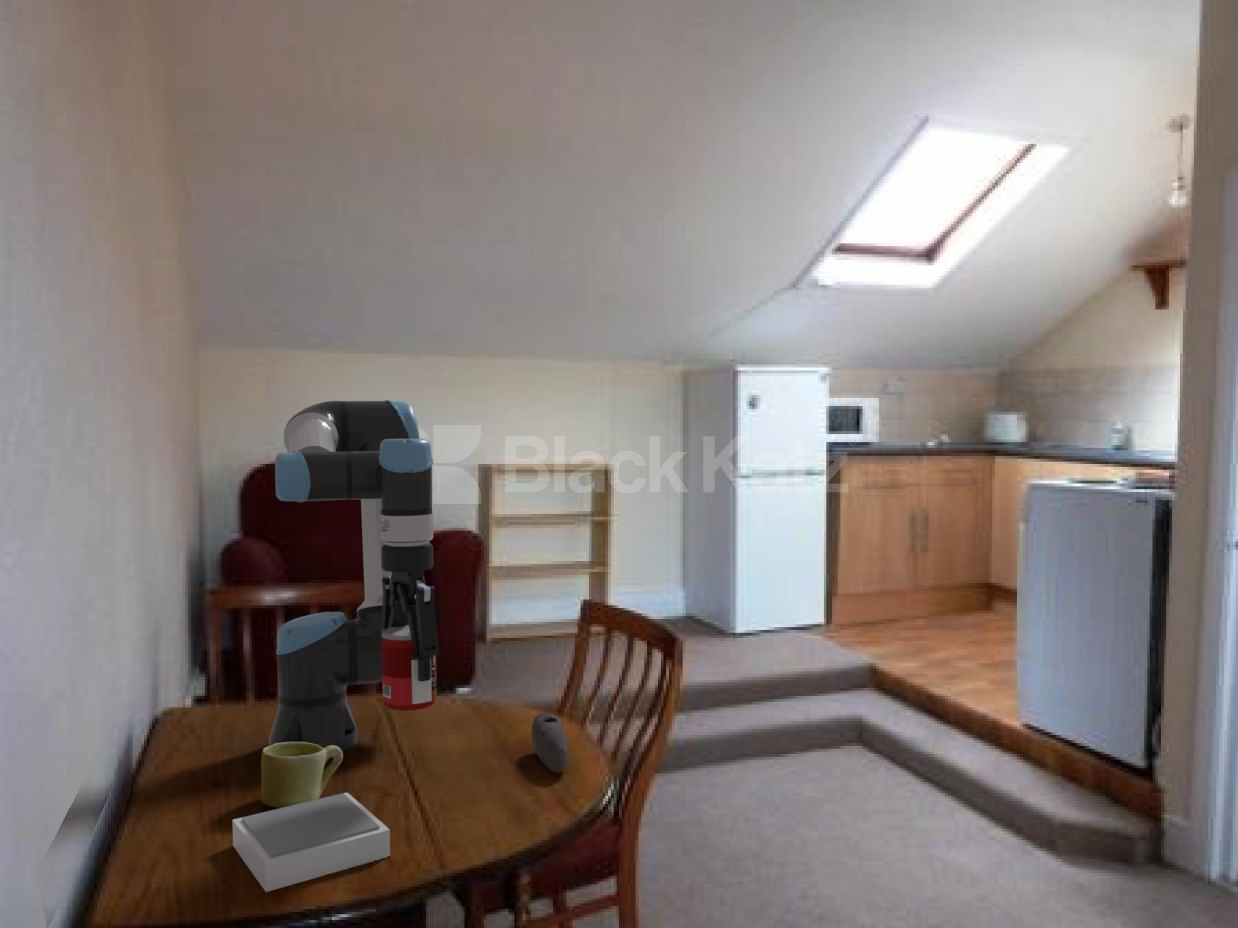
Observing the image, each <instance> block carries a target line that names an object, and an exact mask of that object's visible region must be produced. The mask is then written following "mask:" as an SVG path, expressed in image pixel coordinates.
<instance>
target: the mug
mask: <svg viewBox="0 0 1238 928" xmlns="http://www.w3.org/2000/svg"><path fill="white" fill-rule="evenodd" d="M330 758H332V762H330V763H329V764H328V766H326V768H325V765H326V763H327V762H328V760H329V759H330ZM343 758H344V752H342V751H341V749H340V748H339V747H338V746H335V745H330V746H327V747H325V748H322V747H320V746H319V745H317V744H313V743H308V742H282V743H275V744H273V745H272V746H269V745H268V746H266V747H263V749H262V751H261V762H260V771H261V772H260V773H261V774H260V775H261V778H260V780H261V782H260V783H261V785H260V800H261V803H262V804H263V805H264V806H268V807H270V808H275V809H279V808H284V807H288V806H292V805H296V804H300V803H305V802H309V801H313V800H317V799H321V798H320V797H321V794H322V793H323V791H324V790H325V789H326V785H327V784H328V781H329V780H330V778H331V776H332V775H333V774H334V773H335V772H336V771H337V769H338V767H339V766H340V765H341V763H342V761H343Z"/></svg>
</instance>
